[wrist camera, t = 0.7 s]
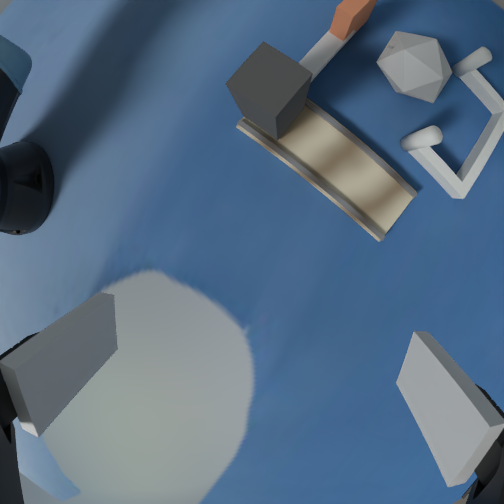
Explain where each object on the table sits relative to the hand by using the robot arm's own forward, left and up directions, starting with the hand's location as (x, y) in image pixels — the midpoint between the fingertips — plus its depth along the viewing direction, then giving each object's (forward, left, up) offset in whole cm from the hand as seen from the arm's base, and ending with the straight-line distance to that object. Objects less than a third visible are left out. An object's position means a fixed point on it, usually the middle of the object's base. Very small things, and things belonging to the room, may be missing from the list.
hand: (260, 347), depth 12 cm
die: (0, +28, -27) cm, 39 cm away
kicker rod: (-10, +21, -26) cm, 35 cm away
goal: (+10, +28, -27) cm, 40 cm away
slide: (-1, +12, -27) cm, 29 cm away
